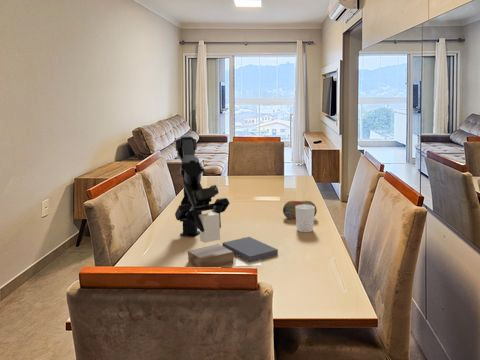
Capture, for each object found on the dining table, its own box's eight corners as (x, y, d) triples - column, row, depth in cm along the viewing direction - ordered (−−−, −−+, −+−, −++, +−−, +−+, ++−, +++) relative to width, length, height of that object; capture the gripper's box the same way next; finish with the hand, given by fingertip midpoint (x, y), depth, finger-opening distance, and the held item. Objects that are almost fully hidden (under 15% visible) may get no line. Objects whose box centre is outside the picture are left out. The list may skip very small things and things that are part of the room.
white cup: (291, 230, 190) (291, 207, 188) (302, 226, 195) (302, 203, 193) (307, 234, 184) (307, 210, 182) (318, 229, 190) (318, 206, 188)
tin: (282, 219, 207) (282, 201, 205) (283, 217, 210) (283, 199, 208) (316, 220, 204) (316, 201, 203) (316, 218, 207) (316, 200, 206)
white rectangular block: (200, 240, 154) (199, 214, 152) (215, 237, 157) (214, 212, 155) (204, 242, 151) (203, 216, 149) (220, 239, 154) (219, 213, 153)
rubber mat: (222, 247, 170) (222, 242, 170) (249, 241, 176) (249, 236, 176) (249, 262, 155) (249, 256, 155) (277, 254, 161) (277, 249, 161)
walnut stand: (188, 261, 156) (187, 250, 156) (218, 254, 163) (218, 243, 162) (202, 270, 148) (201, 259, 147) (233, 263, 155) (233, 251, 154)
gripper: (177, 181, 148) (194, 221, 141) (226, 174, 158) (244, 212, 151) (168, 200, 156) (183, 239, 149) (215, 193, 166) (232, 229, 159)
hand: (211, 229), depth 152 cm, fingers closed on white rectangular block, 6 cm apart
